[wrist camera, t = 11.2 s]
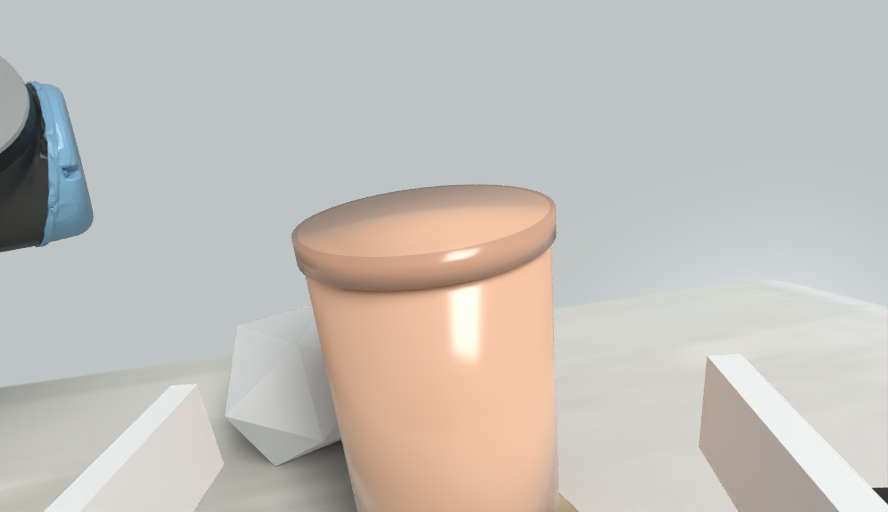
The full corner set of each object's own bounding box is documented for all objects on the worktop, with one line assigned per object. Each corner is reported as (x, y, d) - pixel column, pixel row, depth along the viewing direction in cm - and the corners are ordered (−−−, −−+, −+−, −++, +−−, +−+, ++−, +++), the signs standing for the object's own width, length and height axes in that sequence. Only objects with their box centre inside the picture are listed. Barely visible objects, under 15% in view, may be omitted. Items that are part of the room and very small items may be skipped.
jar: (355, 528, 22) (283, 211, 17) (506, 469, 24) (484, 175, 19) (402, 726, 15) (304, 286, 10) (608, 616, 17) (616, 215, 12)
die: (369, 383, 34) (267, 293, 32) (433, 369, 28) (310, 254, 26) (294, 490, 29) (169, 391, 27) (350, 504, 23) (190, 375, 21)
